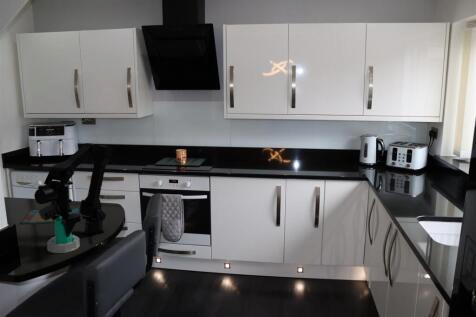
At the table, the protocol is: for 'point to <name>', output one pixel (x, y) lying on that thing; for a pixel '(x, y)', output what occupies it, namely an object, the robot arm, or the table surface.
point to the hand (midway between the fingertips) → (63, 234)
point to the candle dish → (63, 245)
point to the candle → (61, 232)
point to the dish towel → (36, 218)
